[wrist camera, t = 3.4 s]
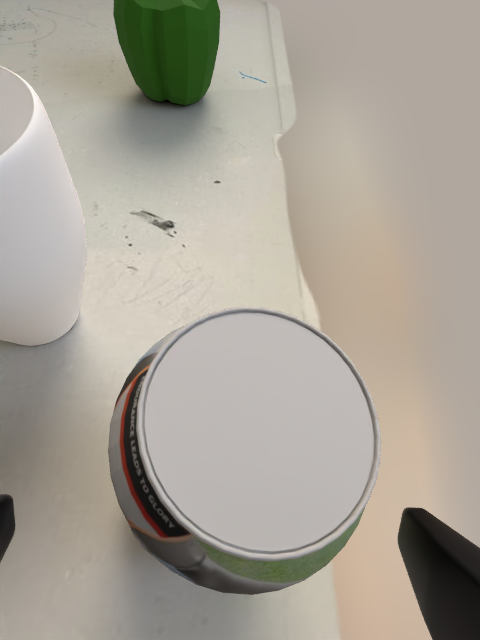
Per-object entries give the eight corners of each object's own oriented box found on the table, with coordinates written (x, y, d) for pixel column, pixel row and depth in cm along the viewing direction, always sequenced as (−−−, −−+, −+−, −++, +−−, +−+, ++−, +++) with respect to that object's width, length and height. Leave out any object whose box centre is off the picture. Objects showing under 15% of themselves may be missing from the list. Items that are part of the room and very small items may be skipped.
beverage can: (128, 432, 18) (26, 287, 8) (274, 410, 19) (350, 257, 9) (132, 588, 15) (-32, 683, 5) (306, 551, 16) (479, 562, 6)
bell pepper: (174, 129, 31) (162, -27, 23) (110, 90, 34) (77, -64, 25) (238, 93, 35) (248, -52, 26) (176, 61, 37) (167, -82, 29)
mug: (106, 379, 19) (4, 211, 10) (-64, 383, 19) (-361, 206, 9) (128, 217, 26) (79, 15, 16) (2, 215, 25) (-131, 3, 15)
